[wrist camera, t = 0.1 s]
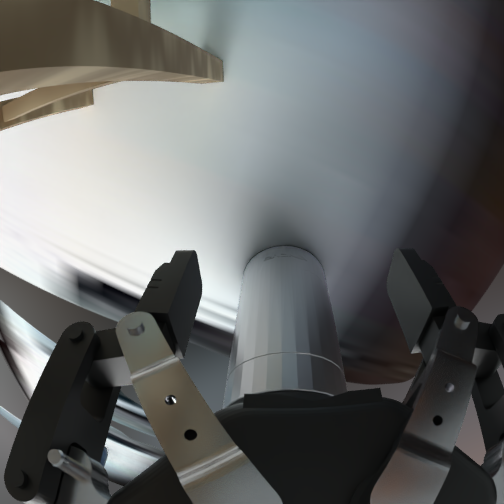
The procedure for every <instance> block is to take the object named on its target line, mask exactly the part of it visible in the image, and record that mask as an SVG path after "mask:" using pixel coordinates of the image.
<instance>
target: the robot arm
mask: <svg viewBox="0 0 504 504" xmlns="http://www.w3.org/2000/svg"><path fill="white" fill-rule="evenodd" d="M387 292H388V295H389V297H390V300H391V302H392V305H393V307H394V310H395V312H396V315H397V317H398V320H399V322H400V325H401V328H402V330H403V333H404V336H405V338H406V341H407V344H408V347H409V350H410V352H411V353H418V352H421V353H422V355H423V360H422V361H421V364H420V366H419V368H418V371H417V373H416V375H415V378H414V380H413V382H412V384H411V386H410V389H409V391H408V393H407V395H406V397H405V399H404V401H403V402H402V403H401V402H399V401H396V400H393V399H389V398H384V397H382V395H381V390H380V388H375V389H366V390H357V391H348V392H347V387H346V381H345V376H344V370H343V364H342V359H341V353H340V348H339V342H338V337H337V332H336V327H335V322H334V317H333V312H332V307H331V302H330V298H329V292H328V288H327V283H326V279H325V275H324V271H323V268H322V266H321V264H320V262H319V261H318V260H317V258H315V257H314V256H313V255H312V254H311V253H309V252H307V251H305V250H303V249H300V248H297V247H293V246H277V247H272V248H269V249H266V250H264V251H262V252H260V253H258V254H257V255H256V256H255V257H253V258H252V259H251V260H250V262H249V263H248V264H247V266H246V268H245V271H244V275H243V281H242V287H241V293H240V298H239V304H238V311H237V317H236V324H235V330H234V337H233V343H232V349H231V356H230V362H229V369H228V376H227V384H226V390H225V397H224V403H223V409H221V410H219V411H218V412H216V413H213V412H212V410H211V409H210V408H209V406H208V405H207V403H206V402H205V400H204V399H203V397H202V396H201V394H200V393H199V391H198V389H197V388H196V386H195V385H194V383H193V381H192V380H191V378H190V377H189V375H188V373H187V372H186V370H185V369H184V367H183V365H182V363H181V362H180V360H179V359H184V356H185V352H186V348H187V345H188V341H189V338H190V334H191V331H192V327H193V324H194V320H195V317H196V313H197V310H198V306H199V303H200V299H201V296H202V280H201V275H200V269H199V264H198V258H197V254H196V251H195V250H183V251H176V252H175V254H174V256H173V258H172V260H171V262H170V263H164V264H162V265H161V266H160V267H159V268H158V269H157V270H155V272H154V274H153V276H152V278H151V281H150V282H149V284H148V286H147V288H146V290H145V292H144V294H143V296H142V298H141V300H140V302H139V304H138V306H137V308H136V310H135V312H133V313H130V314H128V315H126V316H125V317H123V318H122V319H121V320H120V321H119V322H118V324H117V326H116V328H113V329H108V330H102V331H95V330H94V328H93V326H92V325H91V324H90V323H88V322H77V323H74V324H72V325H70V326H69V327H68V328H66V329H65V331H64V332H63V333H62V335H61V337H60V339H59V341H58V343H57V345H56V346H55V348H54V350H53V352H52V354H51V356H50V358H49V360H48V362H47V364H46V366H45V369H44V371H43V373H42V375H41V377H40V379H39V381H38V384H37V386H36V388H35V390H34V392H33V395H32V397H31V399H30V402H29V405H28V407H27V409H26V411H25V414H24V416H23V419H22V422H21V424H20V427H19V430H18V432H17V435H16V438H15V441H14V444H13V447H12V450H11V453H10V456H9V459H8V462H7V466H6V469H5V474H4V481H5V485H6V488H7V490H8V492H9V493H10V494H11V495H12V497H14V498H15V499H16V500H19V501H21V502H23V503H25V504H504V388H503V385H502V382H501V380H500V377H499V374H498V372H497V369H498V368H499V366H500V365H501V364H502V365H503V368H504V314H500V315H498V316H497V317H496V319H495V320H494V322H493V324H488V323H482V322H478V319H477V317H476V316H475V315H474V314H473V313H472V312H471V311H470V310H468V309H466V308H464V307H460V306H456V304H455V302H454V301H453V299H452V297H451V296H450V294H449V292H448V291H447V289H446V287H445V286H444V284H442V281H441V279H440V278H439V277H438V275H437V273H436V272H435V270H434V268H433V267H432V266H431V265H429V264H428V263H427V262H426V261H424V260H421V259H420V257H419V256H418V254H417V253H416V251H415V250H414V249H413V248H397V249H396V250H395V251H394V254H393V259H392V263H391V267H390V271H389V275H388V278H387ZM131 384H133V386H134V389H135V391H136V394H137V396H138V398H139V400H140V403H141V405H142V407H143V409H144V412H145V414H146V416H147V418H148V420H149V422H150V424H151V426H152V428H153V431H154V433H155V435H156V437H157V439H158V440H159V442H160V444H161V446H162V448H163V450H164V452H165V455H164V456H162V457H161V458H160V459H159V460H158V461H156V462H155V463H154V464H152V465H151V466H150V467H149V468H147V469H146V470H145V471H144V472H142V473H141V474H140V475H138V476H137V477H136V478H134V479H133V480H132V481H130V482H129V483H128V484H126V485H125V486H124V487H122V488H121V489H119V490H118V491H117V492H116V493H114V494H113V495H112V496H111V494H110V492H109V489H108V486H109V485H108V474H107V471H106V469H105V468H104V466H103V465H102V464H100V462H101V458H102V454H103V450H104V446H105V442H106V438H107V434H108V431H109V427H110V423H111V420H112V416H113V413H114V409H115V406H116V402H117V399H118V395H119V392H120V389H121V386H123V385H131ZM471 394H472V398H473V401H474V404H475V408H476V411H477V415H478V419H479V422H480V426H481V431H482V435H483V439H484V444H485V449H486V454H485V457H484V463H483V464H482V465H481V466H480V465H478V464H477V463H476V462H475V461H473V460H472V459H471V458H470V457H469V456H467V455H466V454H465V453H464V452H462V451H461V450H460V449H459V448H458V447H456V446H455V443H456V440H457V437H458V435H459V432H460V429H461V426H462V423H463V420H464V417H465V413H466V410H467V407H468V403H469V399H470V396H471Z"/></svg>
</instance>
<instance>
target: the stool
mask: <svg viewBox="0 0 504 504" xmlns="http://www.w3.org/2000/svg"><path fill="white" fill-rule="evenodd" d="M120 81H171V82H187V83H200V84H203V83H213V82H224V79H223V61H222V60H220V59H218V58H217V57H215V56H213V55H212V54H210V53H208V52H206V51H204V50H203V49H201V48H199V47H197V46H195V45H194V44H192V43H190V42H188V41H186V40H184V39H182V38H180V37H178V36H176V35H174V34H173V33H170V32H168V31H166V30H164V29H162V28H160V27H158V26H156V25H154V24H152V23H151V15H150V0H111V6H108V5H105V4H103V3H100V2H97V1H94V0H0V95H3V94H8V93H13V92H18V91H23V90H29V89H35V88H38V89H35V90H33V91H31V92H29V93H27V94H25V95H23V96H21V97H18V98H14V99H10V100H5V101H1V102H0V131H2V130H5V129H7V128H10V127H13V126H16V125H19V124H23V123H26V122H29V121H32V120H36V119H39V118H43V117H46V116H50V115H54V114H58V113H62V112H66V111H70V110H75V109H79V108H83V107H86V106H90V105H93V94H92V89H95V88H98V87H102V86H105V85H109V84H113V83H116V82H120Z"/></svg>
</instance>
